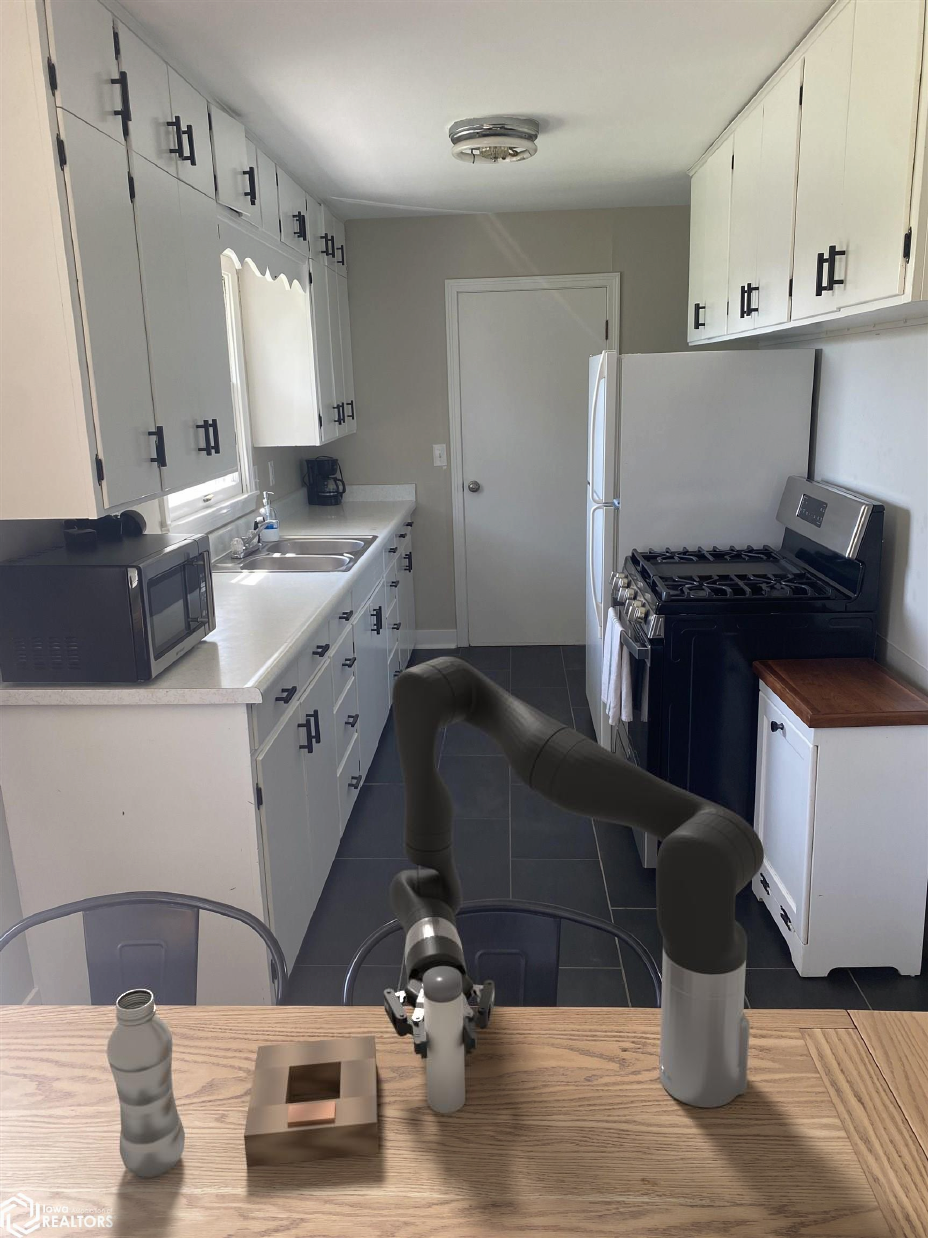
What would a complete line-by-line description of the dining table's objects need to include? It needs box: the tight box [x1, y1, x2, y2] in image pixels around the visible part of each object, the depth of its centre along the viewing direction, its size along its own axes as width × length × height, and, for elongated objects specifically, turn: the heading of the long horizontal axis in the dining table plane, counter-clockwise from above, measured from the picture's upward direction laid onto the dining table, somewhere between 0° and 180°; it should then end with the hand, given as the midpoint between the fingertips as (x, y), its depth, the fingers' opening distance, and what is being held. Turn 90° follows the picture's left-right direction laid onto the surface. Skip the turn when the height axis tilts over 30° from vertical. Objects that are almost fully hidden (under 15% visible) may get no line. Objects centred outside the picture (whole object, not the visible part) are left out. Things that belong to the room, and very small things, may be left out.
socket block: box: [243, 1035, 379, 1168], centre depth 106 cm, size 14×14×4 cm
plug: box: [423, 966, 466, 1114], centre depth 106 cm, size 4×4×16 cm
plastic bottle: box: [105, 988, 186, 1178], centre depth 98 cm, size 6×7×20 cm
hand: (446, 1049), depth 103 cm, fingers closed on plug, 4 cm apart
